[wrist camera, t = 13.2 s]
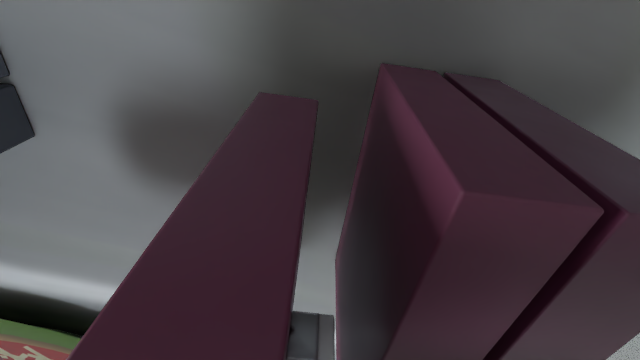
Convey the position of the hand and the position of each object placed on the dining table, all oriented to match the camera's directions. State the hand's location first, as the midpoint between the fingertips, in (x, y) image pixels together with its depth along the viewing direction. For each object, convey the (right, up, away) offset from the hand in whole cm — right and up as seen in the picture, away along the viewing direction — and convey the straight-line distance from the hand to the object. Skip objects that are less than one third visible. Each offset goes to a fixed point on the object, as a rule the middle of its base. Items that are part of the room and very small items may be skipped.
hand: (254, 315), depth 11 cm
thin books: (+7, +4, +8) cm, 12 cm away
